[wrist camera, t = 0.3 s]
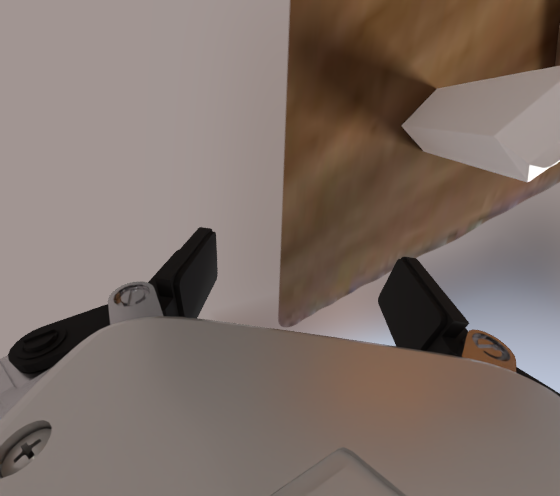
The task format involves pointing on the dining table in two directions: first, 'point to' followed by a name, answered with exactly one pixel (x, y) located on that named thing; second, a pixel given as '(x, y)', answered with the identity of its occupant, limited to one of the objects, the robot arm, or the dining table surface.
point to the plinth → (558, 50)
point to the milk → (494, 123)
